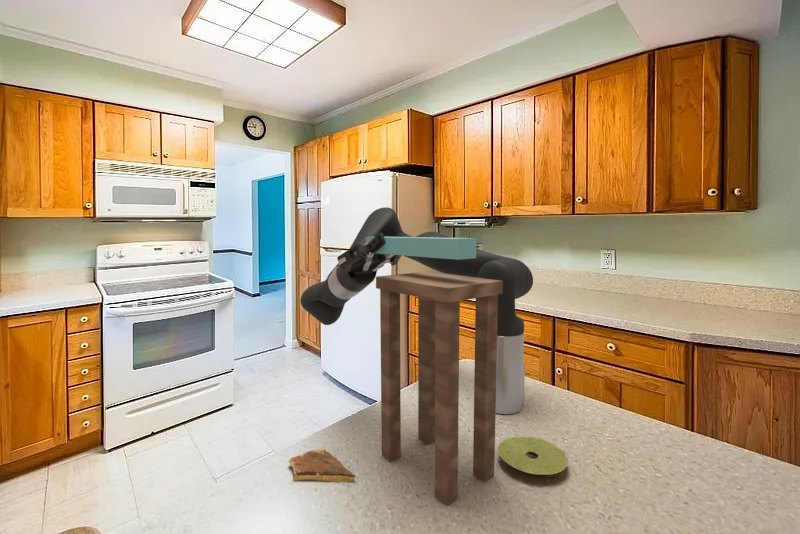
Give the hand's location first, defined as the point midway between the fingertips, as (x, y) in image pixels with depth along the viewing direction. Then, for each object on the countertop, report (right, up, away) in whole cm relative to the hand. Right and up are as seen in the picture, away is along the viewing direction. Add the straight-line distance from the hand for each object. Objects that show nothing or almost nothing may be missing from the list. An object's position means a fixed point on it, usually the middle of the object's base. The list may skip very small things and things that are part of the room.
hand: (392, 237), depth 71 cm
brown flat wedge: (-11, -40, -5) cm, 42 cm away
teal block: (+4, -3, -4) cm, 7 cm away
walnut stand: (+7, -39, -5) cm, 40 cm away
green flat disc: (+24, -39, -5) cm, 46 cm away
